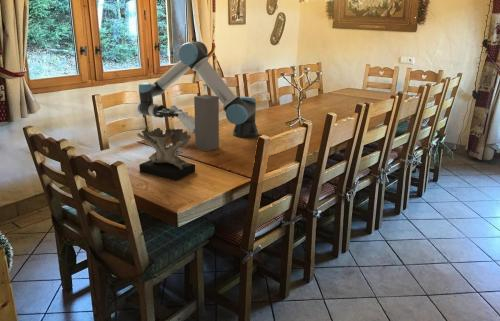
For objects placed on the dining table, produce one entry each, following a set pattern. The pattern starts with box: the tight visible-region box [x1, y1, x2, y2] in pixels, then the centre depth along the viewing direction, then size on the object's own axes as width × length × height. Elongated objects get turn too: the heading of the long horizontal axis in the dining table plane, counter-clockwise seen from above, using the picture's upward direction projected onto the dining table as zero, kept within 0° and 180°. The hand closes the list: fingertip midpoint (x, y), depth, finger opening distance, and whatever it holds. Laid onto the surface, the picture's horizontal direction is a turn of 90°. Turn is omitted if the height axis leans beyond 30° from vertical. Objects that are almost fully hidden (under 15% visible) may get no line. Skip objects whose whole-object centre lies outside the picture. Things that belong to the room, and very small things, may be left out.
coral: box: [136, 127, 196, 182], centre depth 182 cm, size 25×20×22 cm
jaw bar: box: [169, 105, 195, 135], centre depth 230 cm, size 22×5×5 cm, turn 52°
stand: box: [193, 94, 220, 152], centre depth 220 cm, size 9×9×28 cm
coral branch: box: [166, 142, 184, 157], centre depth 205 cm, size 9×8×10 cm
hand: (185, 114), depth 229 cm, fingers closed on jaw bar, 3 cm apart
